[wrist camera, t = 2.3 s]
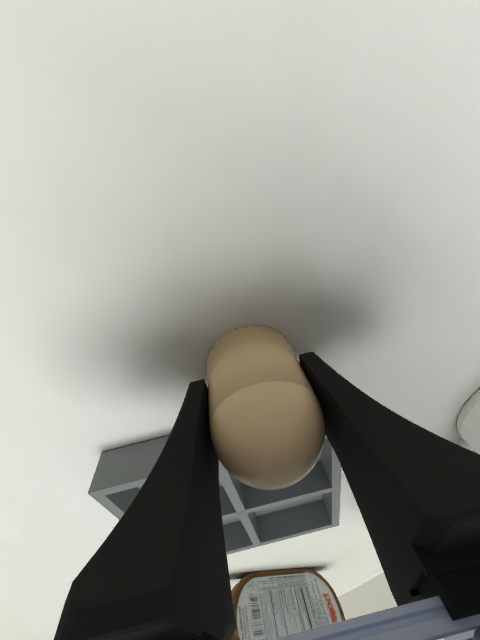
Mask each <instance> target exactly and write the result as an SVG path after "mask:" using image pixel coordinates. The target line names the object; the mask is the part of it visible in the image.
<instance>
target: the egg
mask: <svg viewBox="0 0 480 640" xmlns="http://www.w3.org/2000/svg"><path fill="white" fill-rule="evenodd" d="M207 379H208V404H209V428H210V436H211V441H212V445H213V448H214V451H215V453H216V455H217V457H218V459H219V460H220V462H221V463H222V465H223V466H224V468H225V469H226V470H227V471H228V472H229V473H230V474H231V475H232V476H233V477H235V478H236V479H237V480H239V481H240V482H242V483H244V484H246V485H248V486H250V487H254V488H257V489H262V490H278V489H283V488H286V487H289V486H292V485H294V484H295V483H297V482H299V481H300V480H302V479H303V478H304V477H305V476H306V475H307V474H308V473H309V472H310V471H311V470H312V469H313V467H314V466H315V464H316V463H317V461H318V459H319V457H320V455H321V452H322V449H323V445H324V440H325V421H324V415H323V411H322V408H321V405H320V403H319V401H318V398H317V396H316V395H315V393H314V391H313V389H312V387H311V385H310V383H309V381H308V379H307V377H306V375H305V373H304V371H303V369H302V367H301V365H300V363H299V361H298V359H297V357H296V355H295V353H294V351H293V350H292V348H291V346H290V344H289V342H288V340H287V339H286V338H285V336H284V335H282V334H281V333H280V332H278V331H277V330H275V329H272V328H270V327H266V326H260V325H252V326H244V327H240V328H237V329H234V330H232V331H230V332H228V333H226V334H225V335H223V336H222V337H221V338H219V339H218V340H217V341H216V342H215V344H214V345H213V346H212V348H211V350H210V352H209V354H208V358H207Z"/></svg>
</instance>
